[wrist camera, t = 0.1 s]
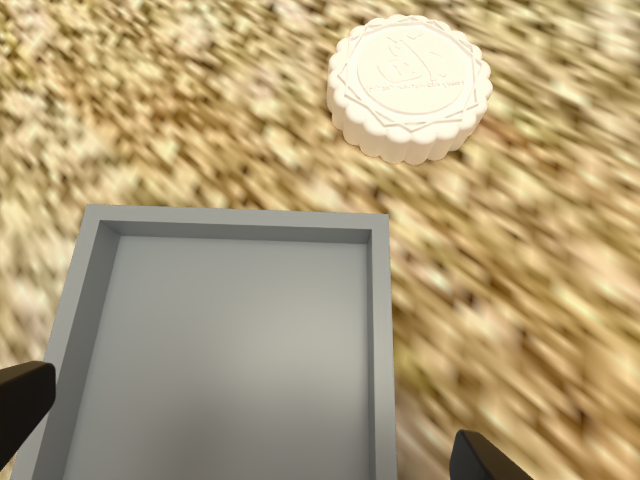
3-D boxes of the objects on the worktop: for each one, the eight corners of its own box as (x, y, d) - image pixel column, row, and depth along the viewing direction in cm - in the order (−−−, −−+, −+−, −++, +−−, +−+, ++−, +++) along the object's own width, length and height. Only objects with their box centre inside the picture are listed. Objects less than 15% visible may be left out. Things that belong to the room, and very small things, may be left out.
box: (387, 562, 19) (401, 598, 16) (37, 549, 20) (-19, 582, 16) (379, 235, 26) (388, 214, 23) (116, 226, 26) (87, 204, 23)
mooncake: (458, 41, 33) (474, 1, 29) (494, 161, 28) (517, 131, 25) (319, 50, 32) (320, 11, 29) (334, 173, 28) (337, 144, 25)
